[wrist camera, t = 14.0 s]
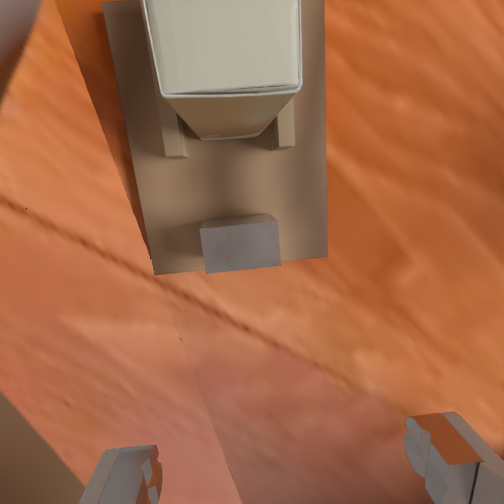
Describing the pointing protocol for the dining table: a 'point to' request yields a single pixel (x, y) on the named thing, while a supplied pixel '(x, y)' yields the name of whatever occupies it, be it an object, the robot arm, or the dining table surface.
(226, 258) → the block
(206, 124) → the skincare box
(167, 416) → the dining table surface
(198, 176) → the base
